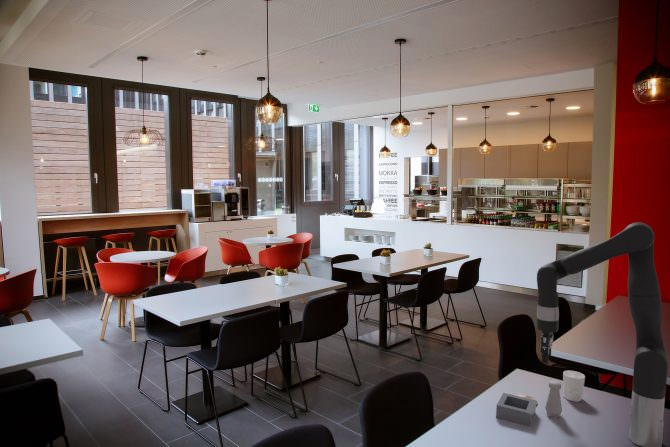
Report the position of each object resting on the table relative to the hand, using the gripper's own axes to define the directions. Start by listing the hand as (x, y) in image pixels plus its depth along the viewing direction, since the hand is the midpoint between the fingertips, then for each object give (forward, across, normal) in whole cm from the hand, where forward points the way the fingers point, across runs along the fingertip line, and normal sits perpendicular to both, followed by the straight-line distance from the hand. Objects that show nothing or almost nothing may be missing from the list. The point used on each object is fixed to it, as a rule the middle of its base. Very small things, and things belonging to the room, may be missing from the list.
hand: (546, 359), depth 178 cm
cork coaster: (+21, +7, +8) cm, 24 cm away
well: (+21, -7, +9) cm, 24 cm away
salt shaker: (+22, +1, -3) cm, 22 cm away
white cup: (+22, +21, -8) cm, 31 cm away
